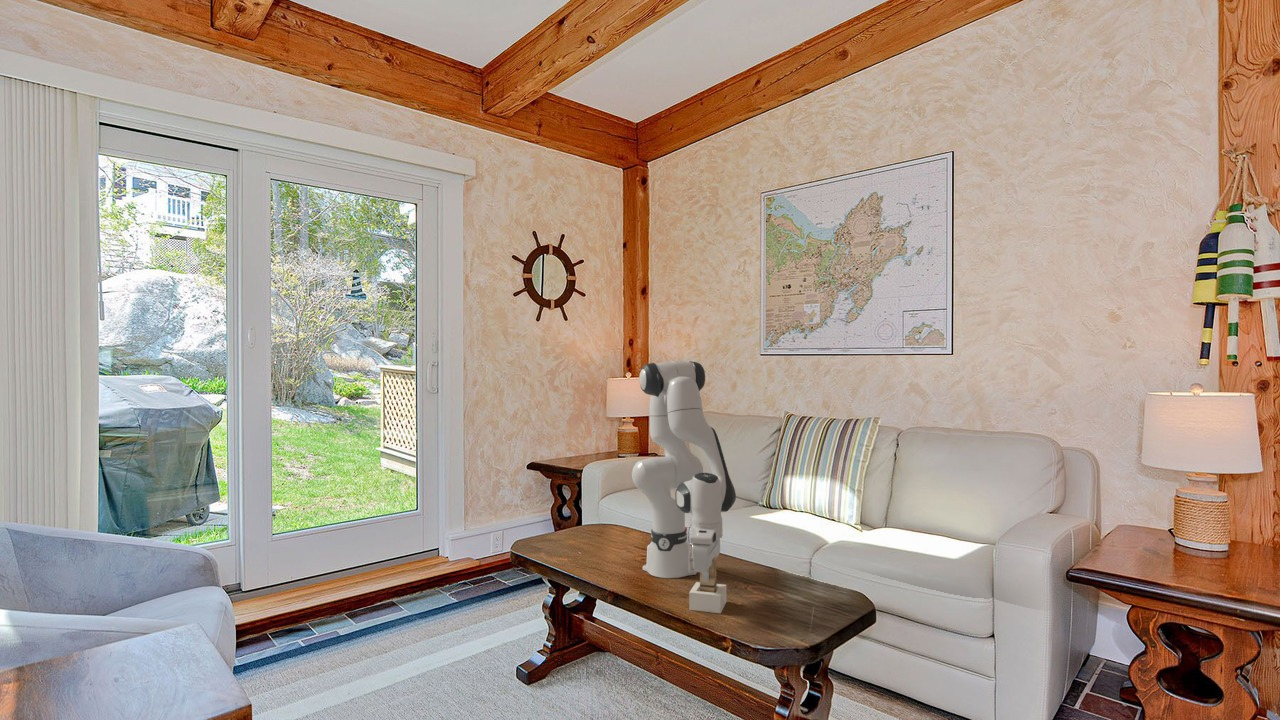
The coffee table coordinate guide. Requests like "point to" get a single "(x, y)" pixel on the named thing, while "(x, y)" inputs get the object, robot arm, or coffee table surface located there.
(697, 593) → the socket board
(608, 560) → the coffee table surface
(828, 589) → the coffee table surface
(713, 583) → the oak peg
